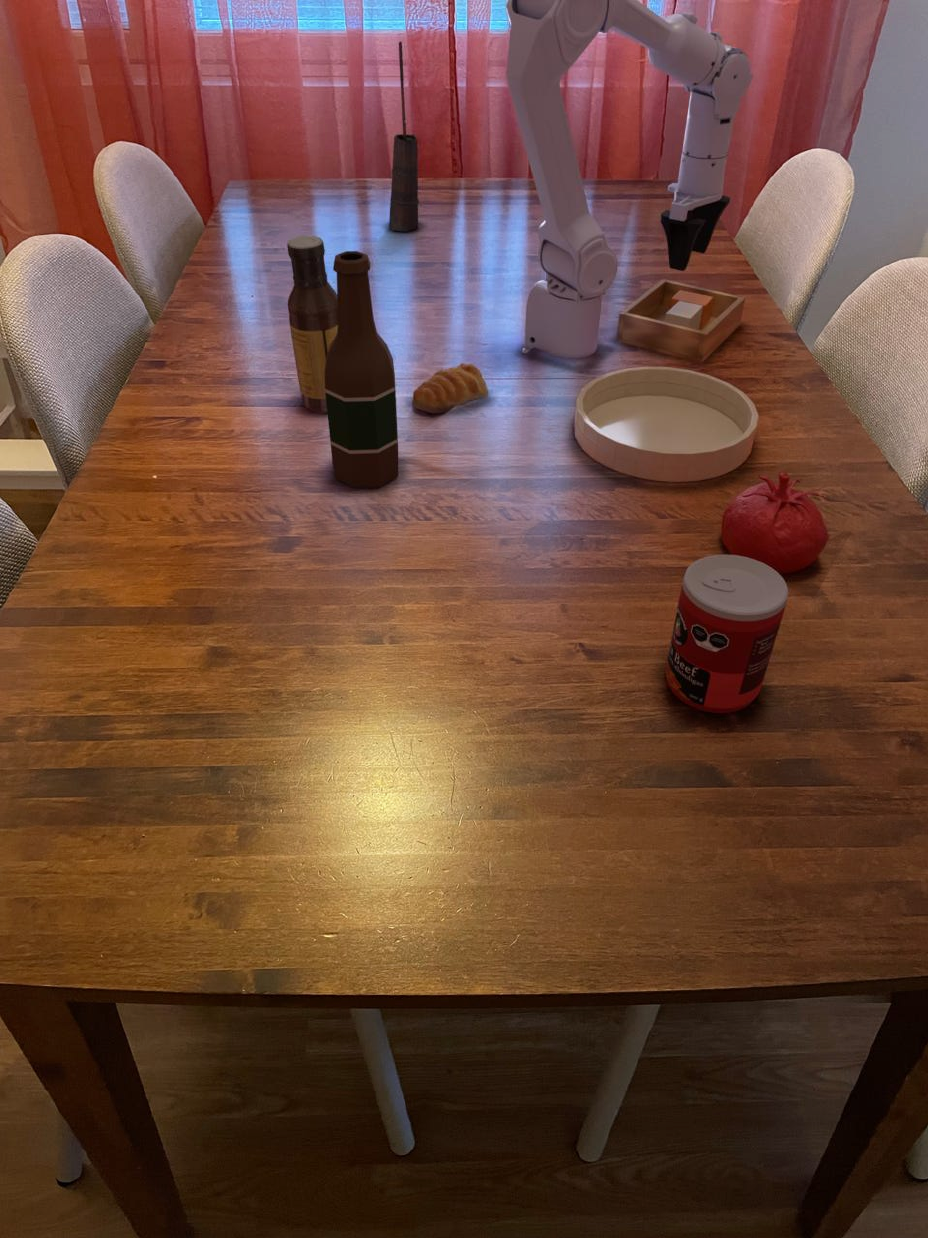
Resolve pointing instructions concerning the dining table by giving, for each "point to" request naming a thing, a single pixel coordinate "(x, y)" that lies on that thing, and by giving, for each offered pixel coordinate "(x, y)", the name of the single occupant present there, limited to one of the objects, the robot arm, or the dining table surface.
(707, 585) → the canned food
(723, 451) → the bowl
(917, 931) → the dining table surface
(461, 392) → the pastry
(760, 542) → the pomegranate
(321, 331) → the sauce bottle
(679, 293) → the orange wooden cube
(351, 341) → the beer bottle
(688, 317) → the beige wooden cube
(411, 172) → the butter churn
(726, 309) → the holder
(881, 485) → the dining table surface
